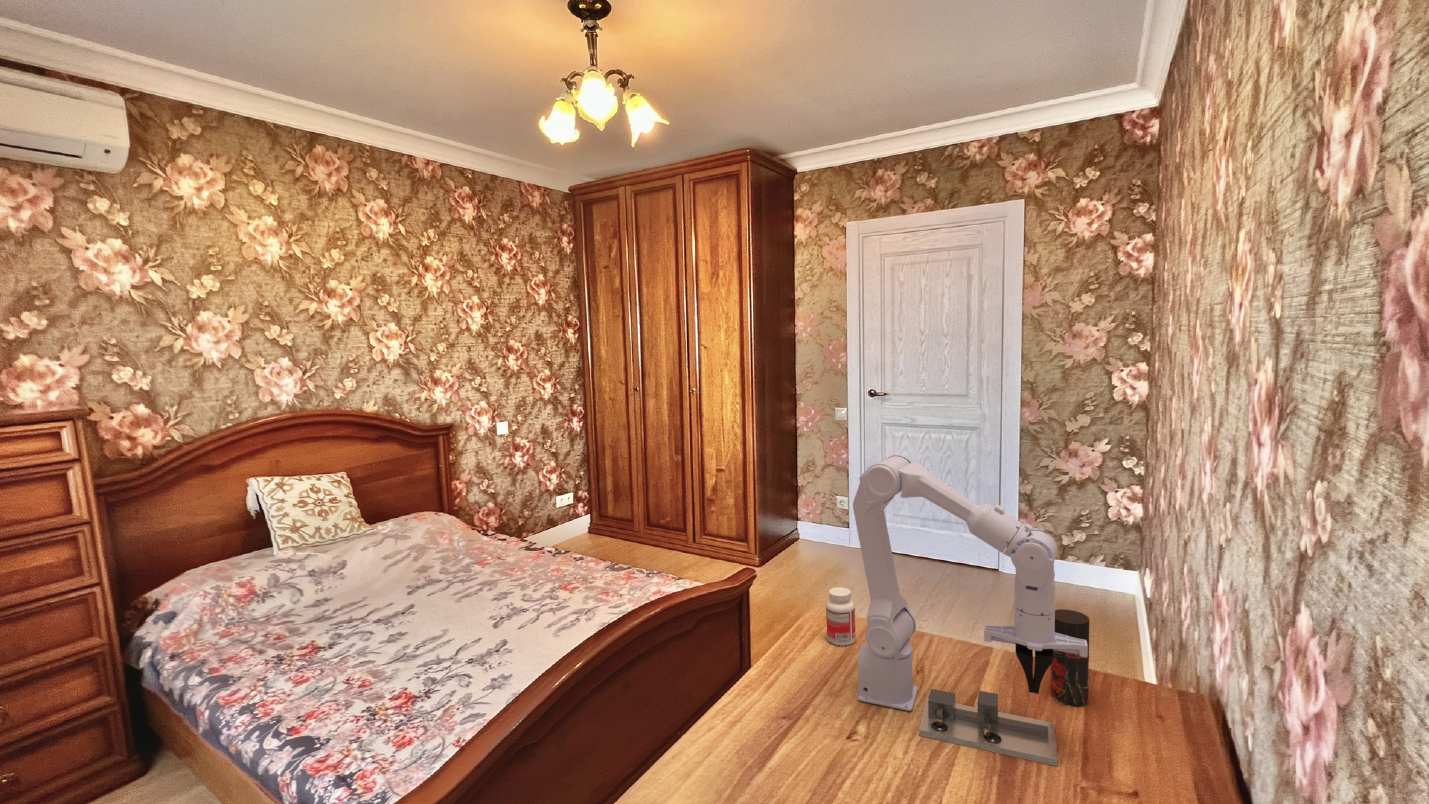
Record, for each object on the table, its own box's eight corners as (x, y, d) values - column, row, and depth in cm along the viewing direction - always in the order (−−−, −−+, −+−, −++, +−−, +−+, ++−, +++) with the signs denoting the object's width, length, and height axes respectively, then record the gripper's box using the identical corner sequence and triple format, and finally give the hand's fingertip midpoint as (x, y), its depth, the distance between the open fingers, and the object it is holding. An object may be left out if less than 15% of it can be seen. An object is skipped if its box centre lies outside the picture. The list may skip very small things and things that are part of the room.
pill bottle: (842, 631, 140) (840, 583, 139) (861, 641, 135) (860, 592, 134) (821, 638, 137) (819, 590, 136) (840, 649, 132) (839, 599, 131)
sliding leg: (976, 733, 99) (976, 711, 99) (978, 711, 105) (978, 690, 105) (997, 738, 98) (997, 715, 98) (998, 715, 104) (998, 694, 104)
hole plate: (919, 735, 102) (919, 729, 102) (926, 703, 111) (926, 697, 111) (1057, 766, 93) (1057, 759, 93) (1053, 728, 102) (1053, 722, 102)
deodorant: (1094, 708, 107) (1095, 624, 106) (1056, 705, 109) (1057, 623, 107) (1081, 689, 113) (1081, 610, 112) (1045, 687, 114) (1046, 608, 113)
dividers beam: (926, 726, 103) (926, 708, 103) (931, 704, 109) (930, 688, 108) (1049, 752, 95) (1049, 734, 95) (1047, 728, 101) (1047, 710, 101)
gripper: (983, 611, 98) (983, 693, 99) (1090, 626, 91) (1088, 713, 93) (985, 594, 104) (985, 671, 105) (1085, 607, 98) (1084, 689, 99)
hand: (1033, 689), depth 99 cm, fingers closed
